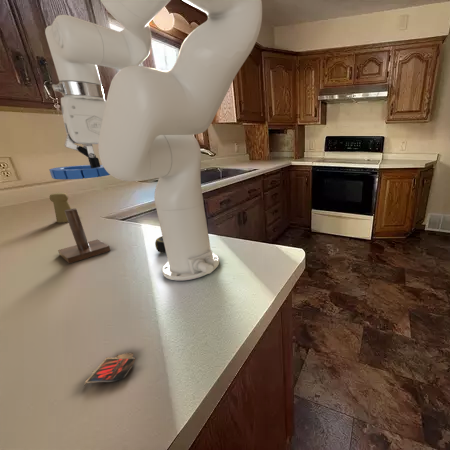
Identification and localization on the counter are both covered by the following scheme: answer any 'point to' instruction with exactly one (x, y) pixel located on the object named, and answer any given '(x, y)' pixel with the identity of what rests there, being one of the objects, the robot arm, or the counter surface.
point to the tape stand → (80, 241)
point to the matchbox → (112, 369)
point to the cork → (60, 206)
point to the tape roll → (78, 172)
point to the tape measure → (160, 245)
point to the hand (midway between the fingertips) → (105, 172)
